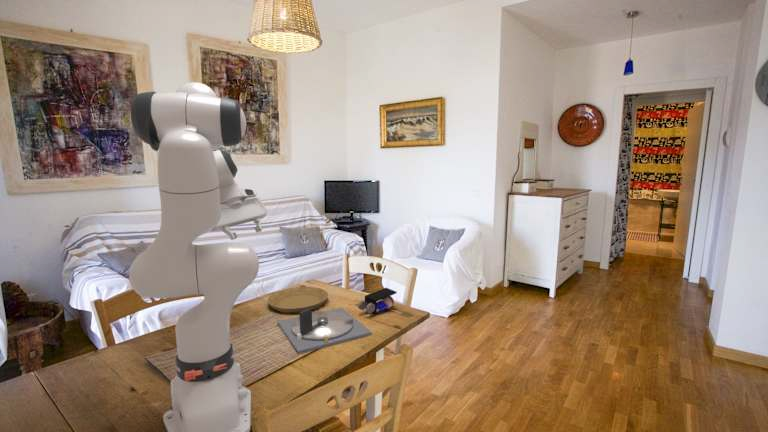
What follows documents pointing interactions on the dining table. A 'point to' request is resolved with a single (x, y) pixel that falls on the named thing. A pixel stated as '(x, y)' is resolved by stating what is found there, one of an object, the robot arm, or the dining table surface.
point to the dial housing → (310, 345)
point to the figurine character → (376, 296)
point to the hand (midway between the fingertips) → (247, 235)
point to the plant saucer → (297, 299)
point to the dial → (321, 324)
